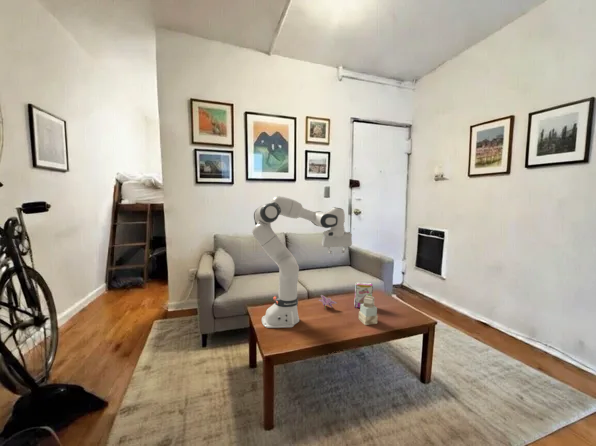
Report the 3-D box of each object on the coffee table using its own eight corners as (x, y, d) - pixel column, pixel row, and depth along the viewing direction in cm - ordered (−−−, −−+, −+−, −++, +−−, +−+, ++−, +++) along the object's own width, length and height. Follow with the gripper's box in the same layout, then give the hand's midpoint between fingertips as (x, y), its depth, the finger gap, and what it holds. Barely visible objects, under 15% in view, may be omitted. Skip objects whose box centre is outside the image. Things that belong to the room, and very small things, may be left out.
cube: (371, 308, 158) (372, 299, 157) (363, 306, 160) (363, 298, 160) (374, 305, 162) (374, 297, 162) (365, 303, 165) (366, 295, 164)
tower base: (365, 325, 158) (365, 317, 157) (358, 319, 165) (358, 311, 165) (377, 323, 160) (377, 315, 159) (370, 317, 167) (370, 310, 167)
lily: (338, 312, 175) (339, 297, 179) (326, 310, 169) (327, 294, 172) (325, 312, 184) (326, 298, 188) (313, 309, 177) (314, 294, 181)
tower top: (366, 316, 157) (366, 308, 157) (360, 311, 164) (360, 303, 164) (376, 315, 159) (377, 307, 159) (370, 310, 166) (370, 302, 165)
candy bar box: (354, 308, 181) (355, 284, 179) (354, 304, 186) (355, 281, 184) (371, 309, 180) (373, 285, 178) (370, 305, 185) (371, 282, 183)
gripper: (349, 231, 181) (348, 251, 183) (321, 232, 176) (320, 252, 177) (354, 232, 175) (353, 253, 177) (324, 233, 169) (324, 255, 171)
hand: (336, 253), depth 177 cm, fingers open, 8 cm apart
